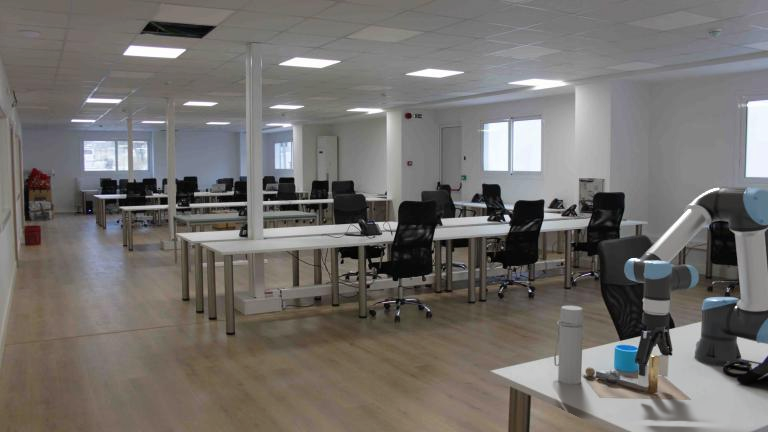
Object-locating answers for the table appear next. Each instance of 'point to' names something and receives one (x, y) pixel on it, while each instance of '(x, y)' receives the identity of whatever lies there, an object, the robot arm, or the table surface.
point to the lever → (615, 378)
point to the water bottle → (570, 344)
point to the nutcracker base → (620, 391)
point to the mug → (625, 358)
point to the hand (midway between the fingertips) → (653, 380)
